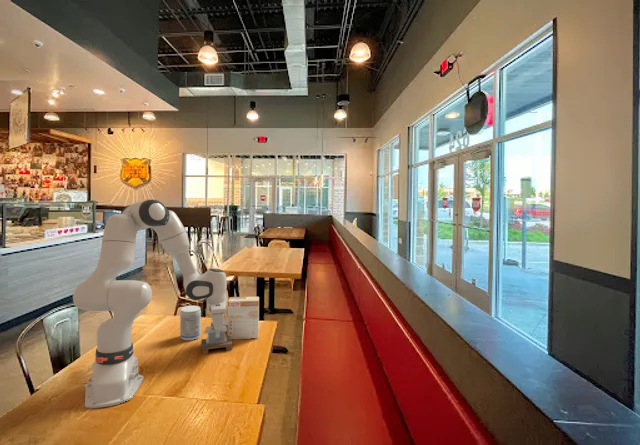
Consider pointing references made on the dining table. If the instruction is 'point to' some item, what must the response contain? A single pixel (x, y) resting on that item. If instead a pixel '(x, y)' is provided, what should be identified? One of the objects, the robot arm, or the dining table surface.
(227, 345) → the stand
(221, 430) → the dining table surface
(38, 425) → the dining table surface
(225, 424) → the dining table surface
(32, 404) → the dining table surface
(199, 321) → the supplement tub
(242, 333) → the coffeecake box
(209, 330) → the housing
